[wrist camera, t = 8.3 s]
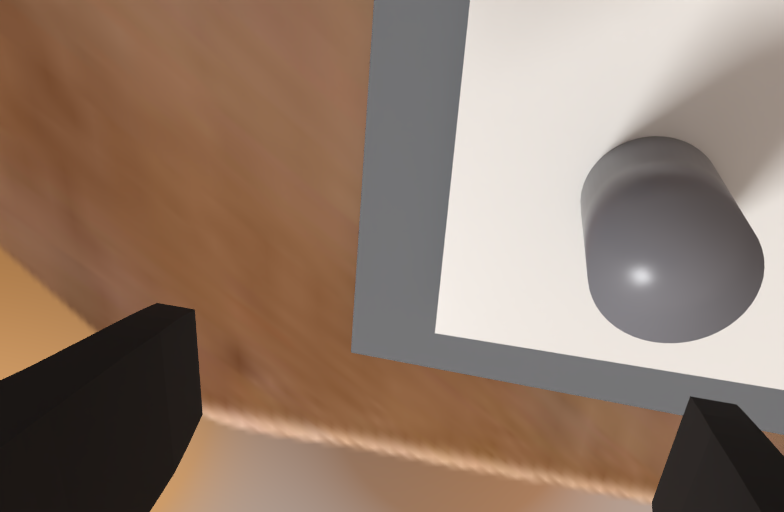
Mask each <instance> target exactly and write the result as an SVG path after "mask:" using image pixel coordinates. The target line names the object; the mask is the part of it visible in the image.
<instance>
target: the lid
mask: <svg viewBox="0 0 784 512" xmlns="http://www.w3.org/2000/svg"><path fill="white" fill-rule="evenodd" d="M435 333H437V334H443V335H449V336H455V337H461V338H468V339H474V340H480V341H486V342H492V343H498V344H504V345H511V346H517V347H523V348H529V349H535V350H541V351H547V352H553V353H560V354H566V355H572V356H578V357H584V358H590V359H596V360H603V361H609V362H615V363H621V364H627V365H633V366H639V367H645V368H652V369H658V370H664V371H670V372H676V373H682V374H688V375H695V376H701V377H707V378H713V379H719V380H725V381H731V382H738V383H744V384H750V385H756V386H762V387H768V388H774V389H780V390H784V0H470V6H469V15H468V25H467V34H466V44H465V53H464V63H463V72H462V81H461V91H460V100H459V110H458V119H457V129H456V138H455V148H454V157H453V167H452V176H451V185H450V195H449V204H448V214H447V223H446V233H445V242H444V252H443V261H442V270H441V280H440V289H439V299H438V308H437V318H436V327H435Z"/></svg>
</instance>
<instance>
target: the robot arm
mask: <svg viewBox="0 0 784 512" xmlns="http://www.w3.org/2000/svg"><path fill="white" fill-rule="evenodd" d="M201 416H202V401H201V388H200V374H199V361H198V348H197V334H196V321H195V310H194V309H188V308H183V307H177V306H171V305H165V304H160V303H156V304H154V305H151V306H149V307H147V308H145V309H142V310H140V311H138V312H136V313H134V314H132V315H130V316H128V317H126V318H124V319H122V320H120V321H118V322H116V323H114V324H112V325H110V326H108V327H106V328H104V329H102V330H100V331H99V332H97V333H95V334H93V335H91V336H89V337H87V338H85V339H83V340H81V341H79V342H77V343H75V344H73V345H71V346H69V347H67V348H65V349H63V350H62V351H60V352H58V353H56V354H54V355H52V356H50V357H48V358H46V359H44V360H42V361H40V362H38V363H36V364H34V365H32V366H30V367H28V368H26V369H24V370H22V371H20V372H17V373H15V374H13V375H11V376H9V377H7V378H5V379H2V380H0V512H150V510H151V509H152V507H153V506H154V504H155V503H156V501H157V499H158V498H159V496H160V495H161V493H162V492H163V490H164V489H165V487H166V485H167V484H168V482H169V481H170V479H171V477H172V476H173V474H174V473H175V471H176V469H177V467H178V465H179V463H180V461H181V459H182V457H183V455H184V453H185V451H186V449H187V447H188V445H189V443H190V440H191V438H192V436H193V434H194V432H195V429H196V427H197V425H198V423H199V421H200V419H201ZM652 510H653V512H784V456H783V455H782V454H781V453H780V452H779V450H778V449H777V448H776V447H775V446H774V445H773V444H772V442H771V441H770V440H769V439H768V438H767V437H766V436H765V434H764V433H763V432H762V431H761V430H760V429H759V428H758V427H757V425H756V424H755V423H754V422H753V421H752V420H751V419H750V418H749V417H748V416H747V415H746V413H745V412H744V411H743V410H742V409H741V408H740V407H739V406H738V405H737V404H731V403H726V402H720V401H714V400H709V399H703V398H697V397H691V396H690V398H689V401H688V404H687V406H686V409H685V412H684V415H683V418H682V420H681V423H680V426H679V429H678V431H677V434H676V437H675V440H674V443H673V445H672V448H671V451H670V454H669V456H668V459H667V462H666V465H665V468H664V470H663V473H662V476H661V479H660V481H659V484H658V487H657V490H656V493H655V495H654V498H653V501H652Z"/></svg>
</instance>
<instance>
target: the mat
mask: <svg viewBox="0 0 784 512" xmlns="http://www.w3.org/2000/svg"><path fill="white" fill-rule="evenodd" d="M469 6H470V0H374V10H373V25H372V41H371V56H370V71H369V86H368V102H367V117H366V132H365V147H364V163H363V178H362V193H361V209H360V224H359V239H358V254H357V270H356V285H355V300H354V315H353V331H352V346H351V352H352V353H357V354H363V355H368V356H373V357H378V358H384V359H389V360H394V361H399V362H405V363H410V364H415V365H420V366H426V367H431V368H436V369H441V370H447V371H452V372H457V373H462V374H468V375H473V376H478V377H483V378H489V379H494V380H499V381H504V382H510V383H515V384H520V385H525V386H531V387H536V388H541V389H546V390H552V391H557V392H562V393H567V394H573V395H578V396H583V397H588V398H594V399H599V400H604V401H609V402H615V403H620V404H625V405H630V406H636V407H641V408H646V409H651V410H657V411H662V412H667V413H672V414H678V415H684V412H685V409H686V406H687V404H688V401H689V398H690V396H691V397H697V398H703V399H709V400H714V401H720V402H726V403H731V404H737V405H738V406H739V407H740V408H741V409H742V410H743V411H744V412H745V413H746V415H747V416H748V417H749V418H750V419H751V420H752V421H753V422H754V423H755V424H756V425H757V427H758V428H759V429H760V430H762V431H767V432H772V433H778V434H783V435H784V390H780V389H774V388H768V387H762V386H756V385H750V384H744V383H738V382H731V381H725V380H719V379H713V378H707V377H701V376H695V375H688V374H682V373H676V372H670V371H664V370H658V369H652V368H645V367H639V366H633V365H627V364H621V363H615V362H609V361H603V360H596V359H590V358H584V357H578V356H572V355H566V354H560V353H553V352H547V351H541V350H535V349H529V348H523V347H517V346H511V345H504V344H498V343H492V342H486V341H480V340H474V339H468V338H461V337H455V336H449V335H443V334H437V333H435V327H436V318H437V308H438V299H439V289H440V280H441V270H442V261H443V252H444V242H445V233H446V223H447V214H448V204H449V195H450V185H451V176H452V167H453V157H454V148H455V138H456V129H457V119H458V110H459V100H460V91H461V81H462V72H463V63H464V53H465V44H466V34H467V25H468V15H469Z"/></svg>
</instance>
